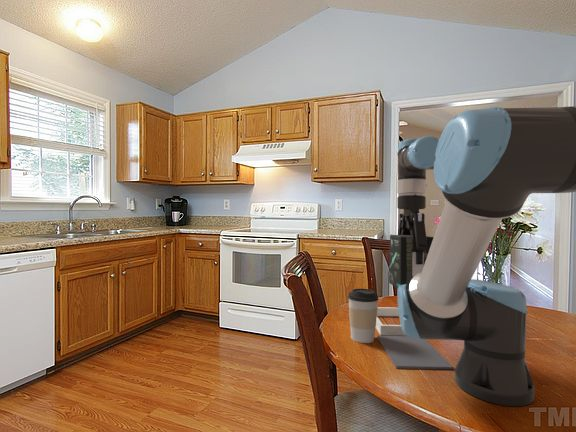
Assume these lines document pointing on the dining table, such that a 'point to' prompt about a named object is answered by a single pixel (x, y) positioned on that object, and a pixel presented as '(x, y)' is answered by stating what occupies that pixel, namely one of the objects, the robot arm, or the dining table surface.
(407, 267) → the tampon box
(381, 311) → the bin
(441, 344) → the dining table surface
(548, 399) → the dining table surface
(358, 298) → the coffee cup
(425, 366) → the thin grey tile
